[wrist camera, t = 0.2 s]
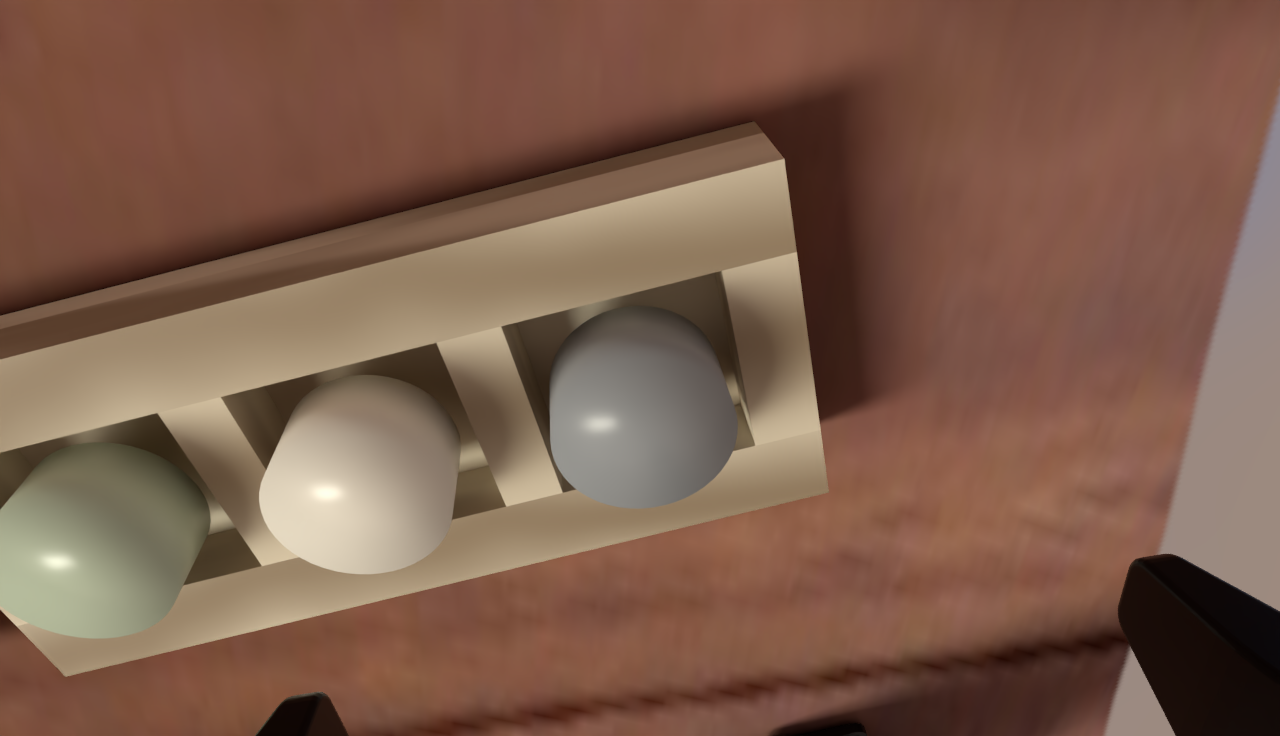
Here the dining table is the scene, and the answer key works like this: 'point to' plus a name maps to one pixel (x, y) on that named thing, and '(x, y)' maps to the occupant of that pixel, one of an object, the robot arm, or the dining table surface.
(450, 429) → the button cream
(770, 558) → the dining table surface
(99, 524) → the button sage
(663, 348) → the button slate
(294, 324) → the wooden compartment tray
